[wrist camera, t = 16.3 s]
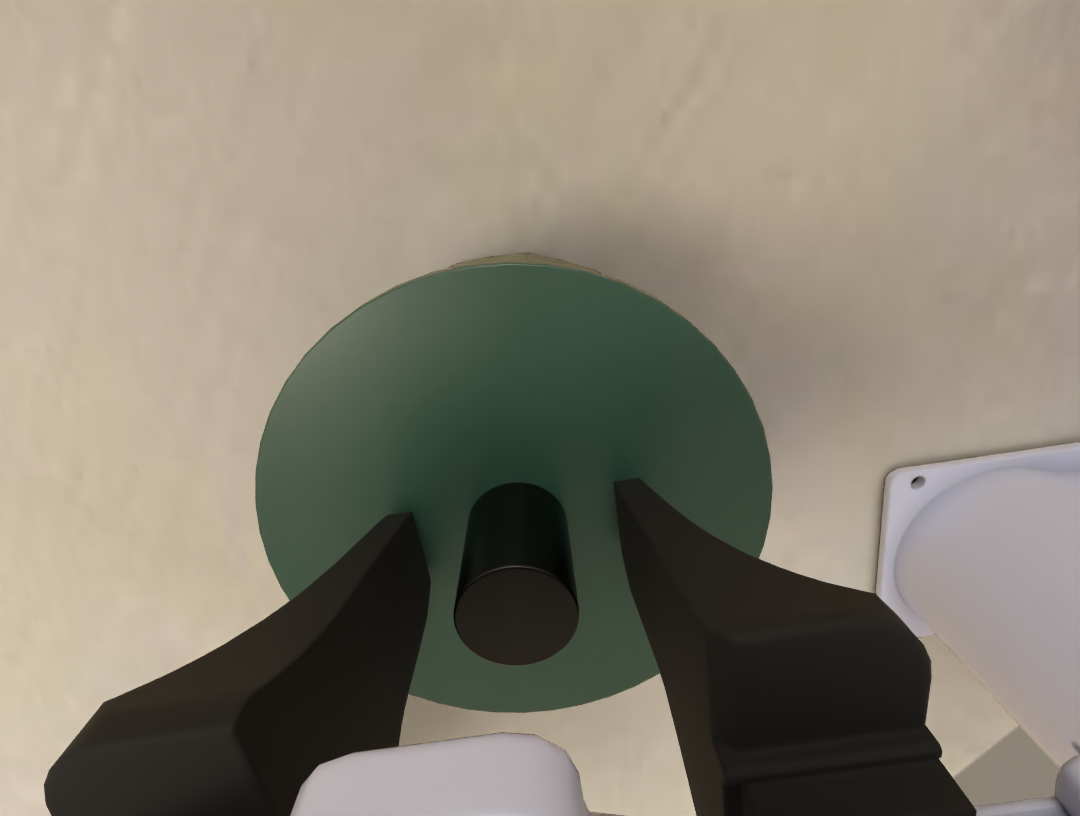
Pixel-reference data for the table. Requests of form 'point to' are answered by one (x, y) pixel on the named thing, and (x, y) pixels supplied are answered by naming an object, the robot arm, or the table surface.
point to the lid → (511, 467)
